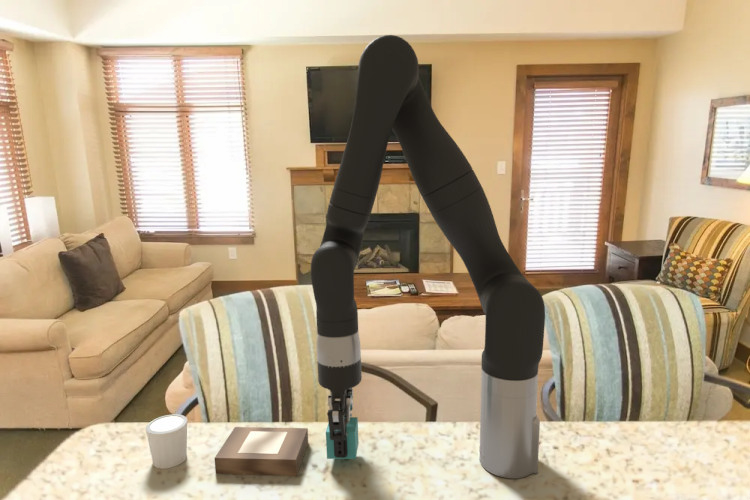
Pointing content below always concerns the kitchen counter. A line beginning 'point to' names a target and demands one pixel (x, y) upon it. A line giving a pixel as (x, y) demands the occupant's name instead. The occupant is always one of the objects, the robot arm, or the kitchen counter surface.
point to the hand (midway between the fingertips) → (343, 446)
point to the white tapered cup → (168, 440)
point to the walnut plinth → (262, 451)
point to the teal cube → (351, 440)
